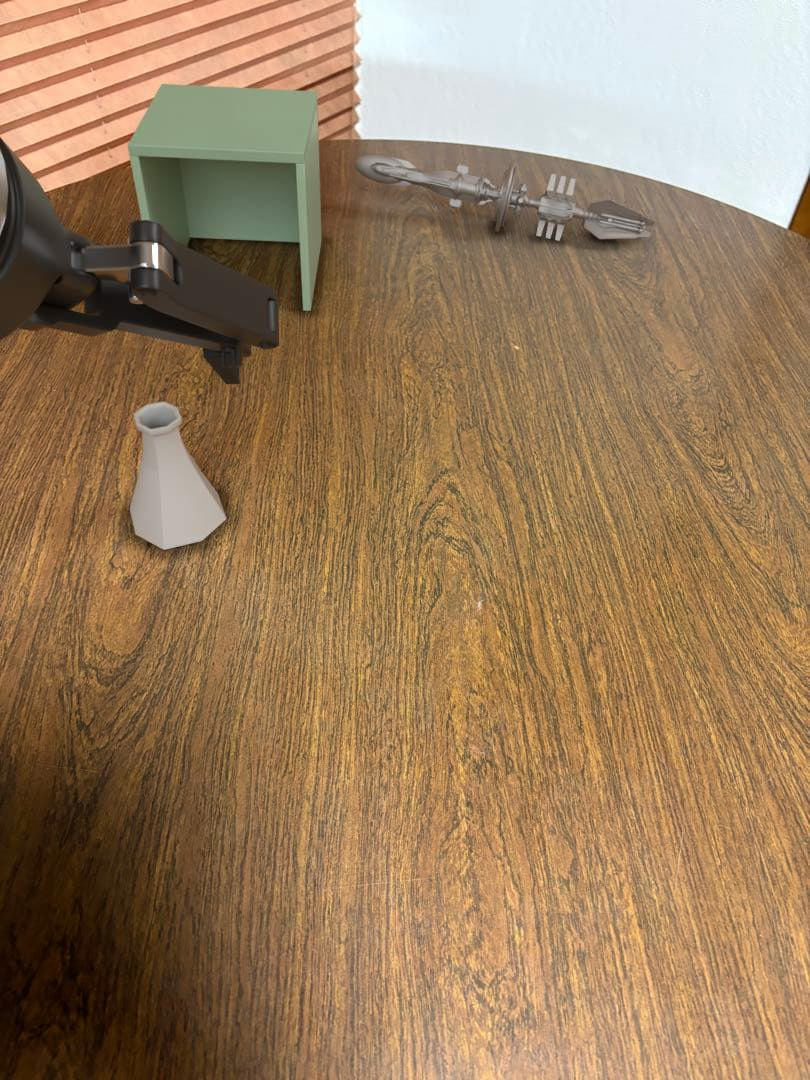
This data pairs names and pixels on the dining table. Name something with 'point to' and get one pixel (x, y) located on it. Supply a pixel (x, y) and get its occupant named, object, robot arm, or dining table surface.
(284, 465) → the dining table surface
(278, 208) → the green open shelf box
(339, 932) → the dining table surface
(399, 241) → the dining table surface
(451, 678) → the dining table surface
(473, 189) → the spaceship
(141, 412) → the flask
